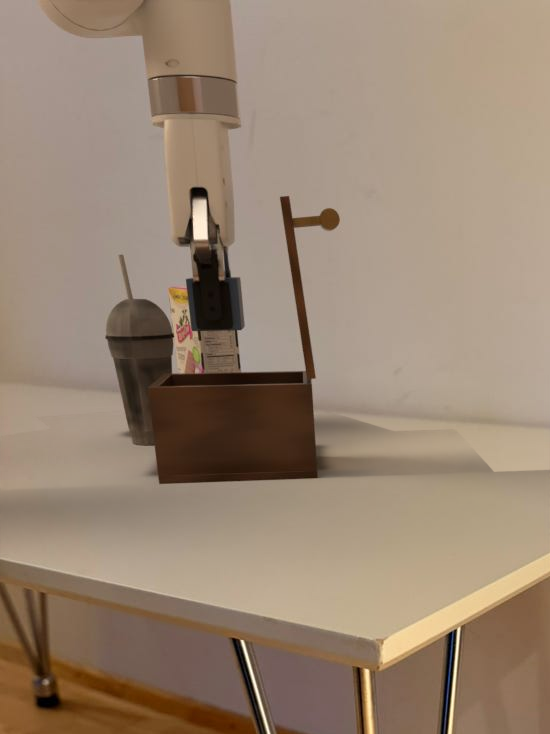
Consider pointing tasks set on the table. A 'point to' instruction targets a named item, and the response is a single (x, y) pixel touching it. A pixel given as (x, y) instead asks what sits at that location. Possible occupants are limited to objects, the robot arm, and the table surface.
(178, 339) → the candy bar box
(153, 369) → the beverage cup
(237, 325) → the block
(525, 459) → the table surface
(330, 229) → the lid
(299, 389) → the chest
